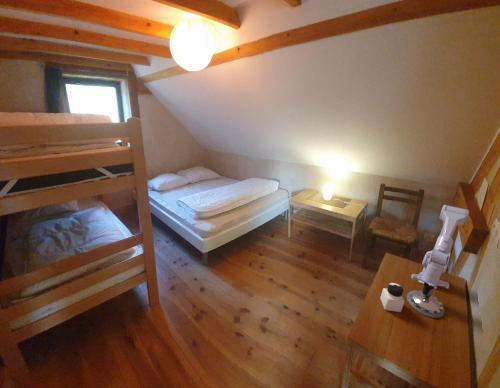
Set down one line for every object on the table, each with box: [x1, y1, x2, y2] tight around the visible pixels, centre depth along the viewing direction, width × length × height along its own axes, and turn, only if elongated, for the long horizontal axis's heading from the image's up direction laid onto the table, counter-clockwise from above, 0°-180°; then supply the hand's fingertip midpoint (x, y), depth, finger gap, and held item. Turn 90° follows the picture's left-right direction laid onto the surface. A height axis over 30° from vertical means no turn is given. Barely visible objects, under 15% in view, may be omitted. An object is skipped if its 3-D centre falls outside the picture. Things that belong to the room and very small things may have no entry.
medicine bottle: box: [380, 282, 405, 313], centre depth 109 cm, size 7×7×12 cm
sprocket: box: [409, 289, 443, 314], centre depth 110 cm, size 13×13×5 cm
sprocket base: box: [405, 290, 445, 319], centre depth 112 cm, size 15×15×1 cm
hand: (424, 293), depth 114 cm, fingers closed, pressing on sprocket
